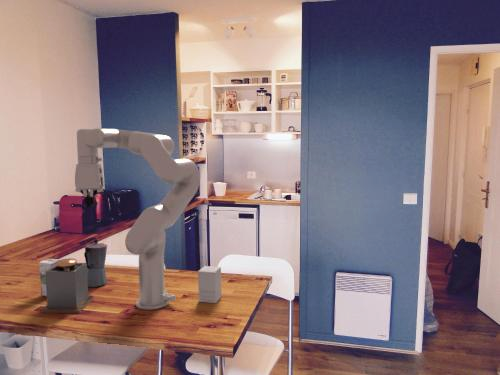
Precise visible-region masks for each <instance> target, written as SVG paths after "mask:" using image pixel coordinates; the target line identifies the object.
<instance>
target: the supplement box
mask: <svg viewBox="0 0 500 375" xmlns="http://www.w3.org/2000/svg"><path fill="white" fill-rule="evenodd" d="M197 273H198V274H197V280H198V281H197V282H198V286H197V287H198V302H201V303H210V304H216V303H217V302H218V301H219V300H221V298H222V267H221V266H211V265H210V266H209V265H205V266H203V267H201V268H200V269H199V270H197Z"/></svg>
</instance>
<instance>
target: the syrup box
mask: <svg viewBox="0 0 500 375" xmlns="http://www.w3.org/2000/svg"><path fill="white" fill-rule="evenodd" d="M58 260H59V259H56V258H55V259H54V258H46V259H43V260H41V261H39V262H38V264H39V277H40V291H41V292H40V293H41V296H42V297H46V298H47V291H46V273H45V272H46V271H47V270H49V269H50V268H52V267H53V266H55V265H56V262H57V261H58Z"/></svg>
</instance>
